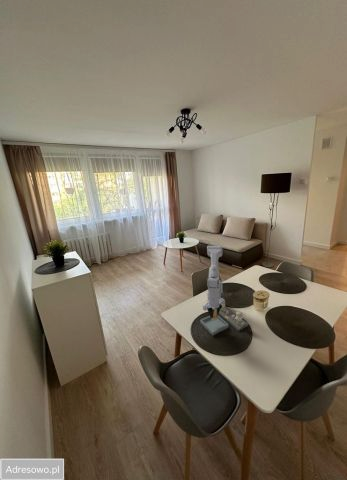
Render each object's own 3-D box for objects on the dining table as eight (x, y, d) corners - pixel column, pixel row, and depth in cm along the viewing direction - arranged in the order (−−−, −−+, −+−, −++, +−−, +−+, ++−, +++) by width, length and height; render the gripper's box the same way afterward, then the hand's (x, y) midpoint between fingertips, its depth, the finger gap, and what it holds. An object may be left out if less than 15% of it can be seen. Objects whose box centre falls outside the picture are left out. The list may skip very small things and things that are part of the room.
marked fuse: (210, 317, 115) (209, 307, 112) (214, 315, 116) (214, 305, 114) (213, 320, 112) (213, 311, 109) (218, 318, 113) (218, 308, 111)
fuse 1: (218, 308, 128) (218, 299, 126) (222, 306, 129) (222, 298, 127) (222, 311, 125) (222, 302, 123) (226, 309, 126) (226, 300, 124)
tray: (200, 323, 118) (200, 320, 117) (215, 316, 123) (215, 313, 122) (212, 336, 108) (212, 332, 107) (228, 327, 113) (228, 324, 112)
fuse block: (214, 310, 129) (214, 306, 128) (223, 306, 132) (223, 302, 131) (238, 331, 110) (238, 326, 109) (248, 325, 113) (248, 321, 112)
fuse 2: (234, 322, 115) (235, 312, 113) (239, 319, 116) (239, 310, 114) (239, 325, 112) (239, 315, 110) (243, 323, 113) (243, 313, 111)
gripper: (207, 304, 103) (208, 324, 107) (228, 295, 109) (227, 315, 113) (200, 297, 109) (201, 317, 113) (219, 290, 115) (220, 308, 119)
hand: (214, 315), depth 113 cm, fingers closed on marked fuse, 3 cm apart
